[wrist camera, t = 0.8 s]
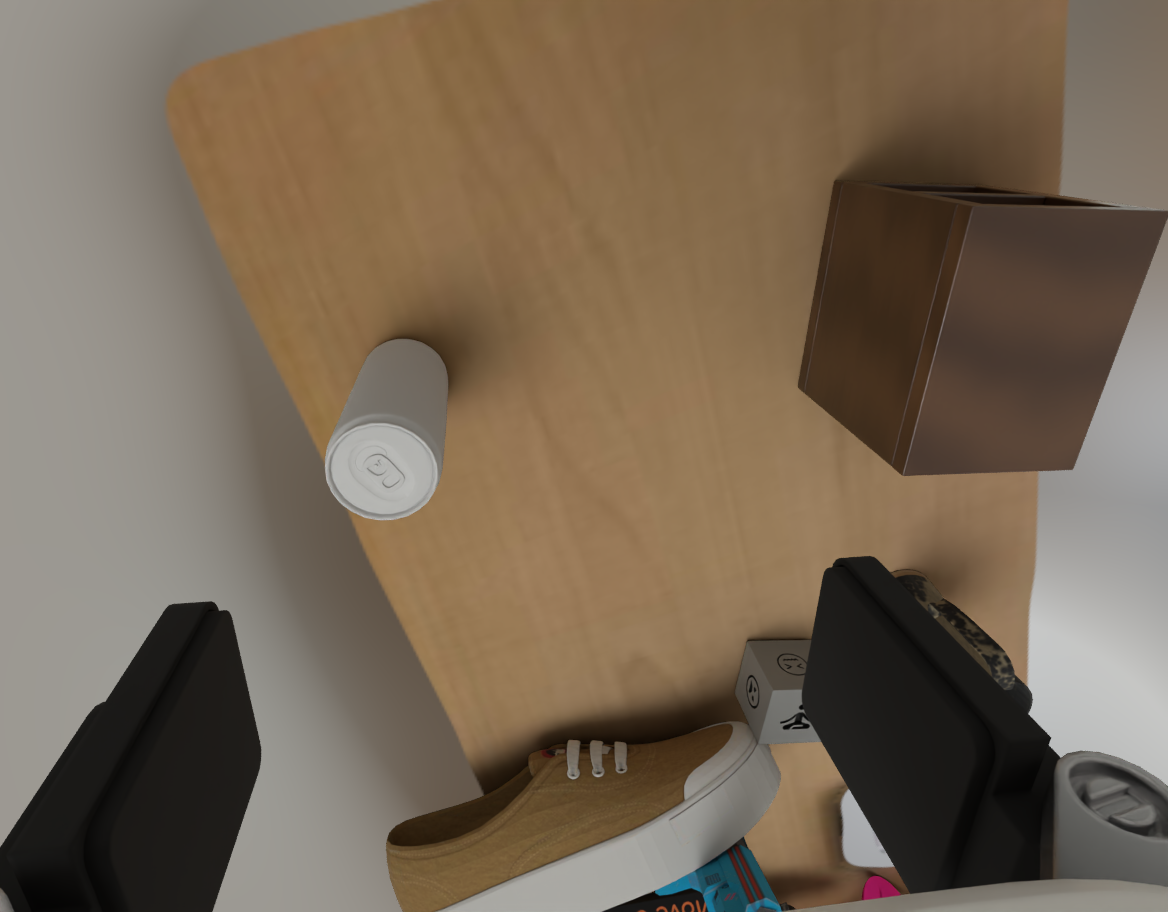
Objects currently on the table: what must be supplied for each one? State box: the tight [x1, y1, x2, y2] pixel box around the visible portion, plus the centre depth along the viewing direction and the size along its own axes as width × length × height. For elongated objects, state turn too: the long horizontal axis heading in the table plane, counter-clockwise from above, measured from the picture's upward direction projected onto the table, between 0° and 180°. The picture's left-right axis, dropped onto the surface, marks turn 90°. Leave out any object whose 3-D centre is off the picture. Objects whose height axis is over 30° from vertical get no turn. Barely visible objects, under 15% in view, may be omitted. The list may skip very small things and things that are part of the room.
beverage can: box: [325, 339, 448, 520], centre depth 35 cm, size 5×5×12 cm
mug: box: [891, 570, 1033, 713], centre depth 47 cm, size 8×6×12 cm
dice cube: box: [735, 640, 821, 745], centre depth 51 cm, size 5×5×5 cm
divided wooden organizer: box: [798, 181, 1168, 476], centre depth 36 cm, size 12×9×12 cm
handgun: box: [655, 836, 789, 912], centre depth 49 cm, size 23×3×15 cm
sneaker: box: [386, 721, 781, 912], centre depth 51 cm, size 10×29×10 cm
